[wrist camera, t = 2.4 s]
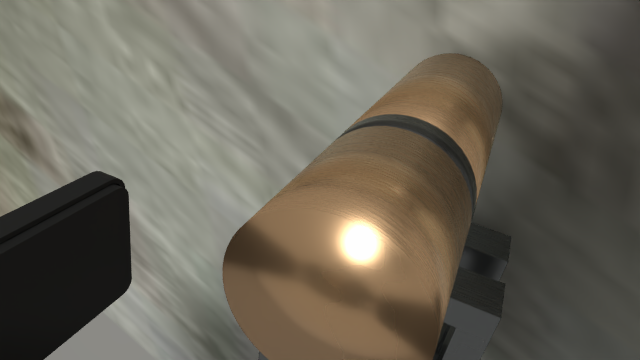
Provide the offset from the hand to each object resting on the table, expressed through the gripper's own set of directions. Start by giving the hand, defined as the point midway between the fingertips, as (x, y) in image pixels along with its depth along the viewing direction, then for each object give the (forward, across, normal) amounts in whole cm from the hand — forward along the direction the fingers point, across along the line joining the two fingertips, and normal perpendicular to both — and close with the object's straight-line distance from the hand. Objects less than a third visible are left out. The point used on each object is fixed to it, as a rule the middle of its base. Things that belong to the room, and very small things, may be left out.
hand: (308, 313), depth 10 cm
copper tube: (+14, 0, -1) cm, 14 cm away
